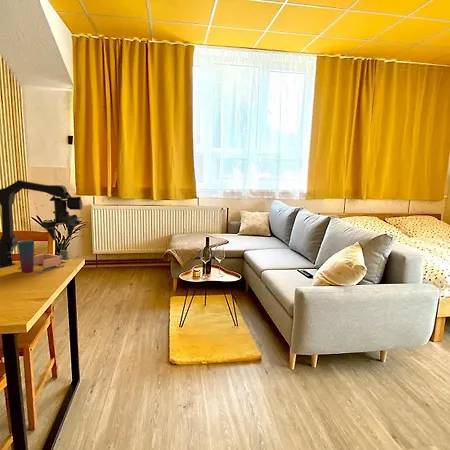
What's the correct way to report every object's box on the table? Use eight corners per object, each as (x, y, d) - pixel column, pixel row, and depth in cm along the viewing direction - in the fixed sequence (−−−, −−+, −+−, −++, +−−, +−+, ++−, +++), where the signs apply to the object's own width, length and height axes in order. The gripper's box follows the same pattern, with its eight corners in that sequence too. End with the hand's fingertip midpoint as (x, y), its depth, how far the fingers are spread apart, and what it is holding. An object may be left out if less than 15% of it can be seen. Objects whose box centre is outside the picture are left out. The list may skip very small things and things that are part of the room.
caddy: (57, 258, 185) (57, 248, 184) (72, 262, 180) (72, 251, 179) (28, 266, 170) (28, 255, 169) (44, 269, 165) (44, 258, 164)
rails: (18, 268, 167) (18, 267, 167) (44, 261, 180) (44, 260, 180) (39, 273, 161) (39, 272, 160) (64, 266, 173) (64, 265, 173)
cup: (38, 269, 166) (37, 240, 164) (29, 273, 160) (27, 243, 157) (25, 268, 167) (24, 239, 165) (16, 272, 160) (14, 242, 158)
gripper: (54, 212, 161) (55, 244, 163) (86, 209, 177) (87, 237, 179) (39, 210, 166) (41, 241, 168) (72, 207, 182) (73, 235, 184)
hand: (62, 238), depth 175 cm, fingers open, 9 cm apart
